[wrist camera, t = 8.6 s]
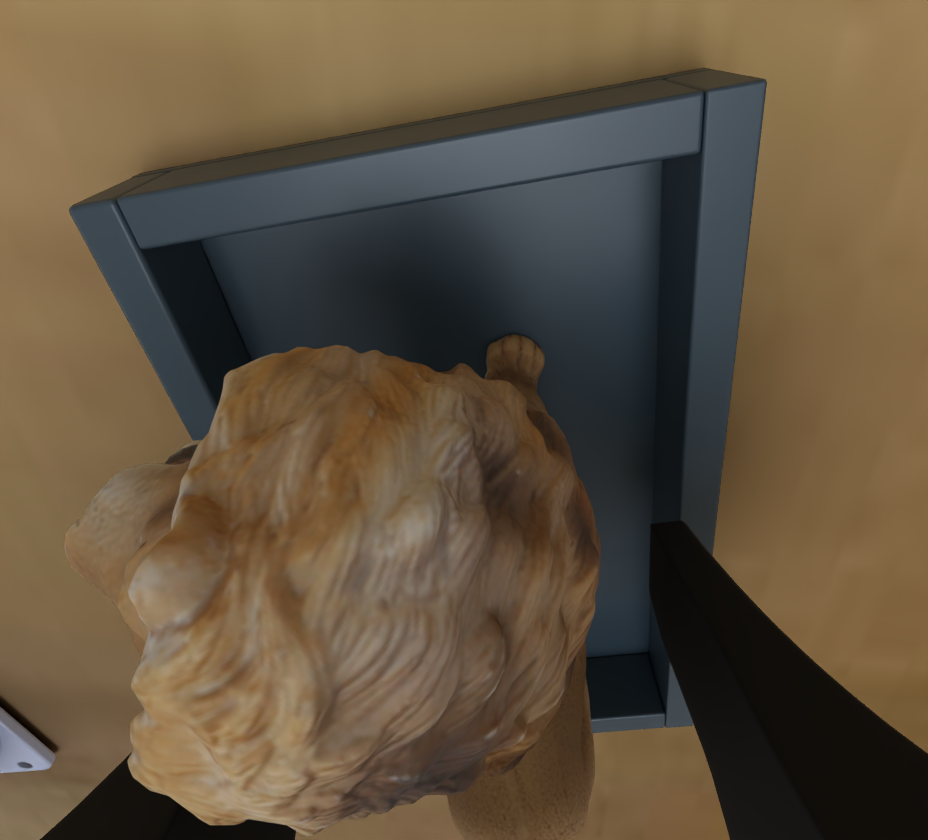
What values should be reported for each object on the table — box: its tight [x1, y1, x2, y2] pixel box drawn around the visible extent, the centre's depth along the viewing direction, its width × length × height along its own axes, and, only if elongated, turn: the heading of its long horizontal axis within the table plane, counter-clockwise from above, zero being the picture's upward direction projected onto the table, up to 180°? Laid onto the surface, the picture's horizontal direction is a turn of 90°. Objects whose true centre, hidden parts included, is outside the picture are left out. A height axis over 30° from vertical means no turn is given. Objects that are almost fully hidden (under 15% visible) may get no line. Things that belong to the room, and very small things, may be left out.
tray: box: [69, 68, 767, 733], centre depth 14 cm, size 10×17×2 cm, turn 9°
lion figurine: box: [64, 334, 601, 840], centre depth 11 cm, size 15×5×9 cm, turn 21°
